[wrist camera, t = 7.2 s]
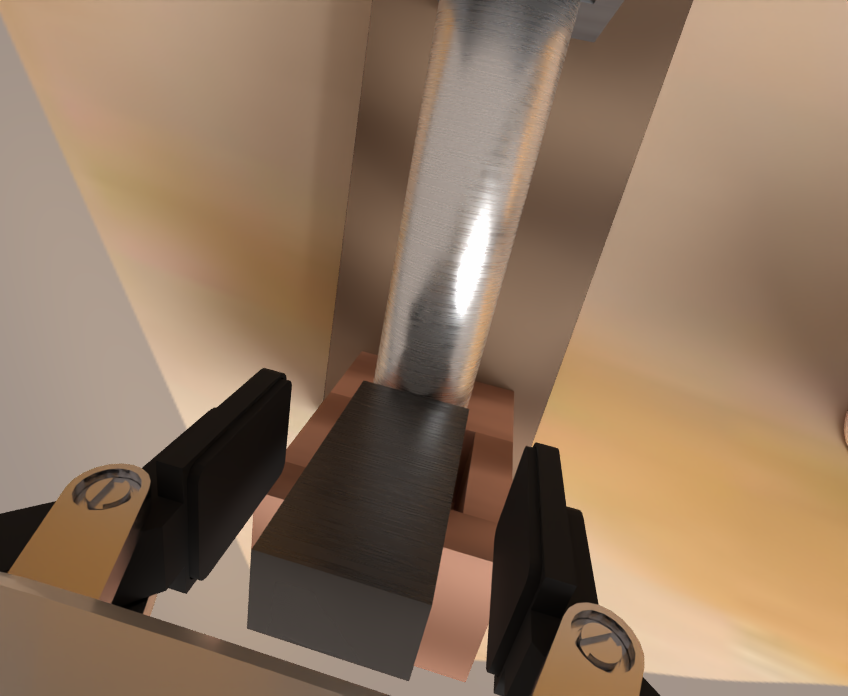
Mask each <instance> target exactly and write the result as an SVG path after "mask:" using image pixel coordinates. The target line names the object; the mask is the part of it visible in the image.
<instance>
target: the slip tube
mask: <svg viewBox="0 0 848 696" xmlns="http://www.w3.org/2000/svg"><path fill="white" fill-rule="evenodd" d="M580 2H581V0H439V5H438V10H437V16H436V22H435V28H434V34H433V39H432V45H431V51H430V57H429V63H428V68H427V74H426V80H425V86H424V92H423V97H422V103H421V109H420V115H419V120H418V126H417V132H416V138H415V144H414V149H413V155H412V161H411V167H410V173H409V178H408V184H407V190H406V196H405V202H404V207H403V213H402V219H401V225H400V230H399V236H398V242H397V248H396V254H395V259H394V265H393V271H392V277H391V283H390V288H389V294H388V300H387V306H386V312H385V317H384V323H383V329H382V335H381V341H380V346H379V352H378V358H377V364H376V369H375V375H374V381H373V383H372V382H368V381H364V380H363V382H362V383H361V385H360V387H359V388H358V390H357V391H356V393H355V394H354V396H353V397H352V399H351V400H350V402H349V403H348V405H347V406H346V408H345V409H344V411H343V412H342V414H341V415H340V417H339V418H338V420H337V421H336V423H335V424H334V426H333V427H332V429H331V430H330V432H329V433H328V435H327V436H326V438H325V439H324V441H323V442H322V444H321V445H320V447H319V448H318V450H317V451H316V453H315V454H314V456H313V457H312V459H311V460H310V462H309V463H308V465H307V466H306V468H305V469H304V471H303V472H302V474H301V475H300V477H299V478H298V480H297V481H296V483H295V484H294V486H293V487H292V489H291V490H290V492H289V493H288V495H287V496H286V498H285V499H284V501H283V502H282V504H281V505H280V507H279V508H278V510H277V511H276V513H275V514H274V516H273V517H272V519H271V520H270V522H269V523H268V525H267V526H266V528H265V529H264V531H263V532H262V534H261V535H260V537H259V539H258V540H257V542H256V543H255V545H254V546H253V548H252V549H251V565H250V584H249V602H248V603H249V604H248V621H247V629H250V630H253V631H256V632H259V633H262V634H266V635H269V636H272V637H275V638H278V639H281V640H284V641H287V642H290V643H293V644H296V645H300V646H302V647H305V648H309V649H311V650H315V651H318V652H321V653H324V654H327V655H330V656H333V657H336V658H339V659H342V660H345V661H348V662H351V663H354V664H357V665H361V666H364V667H367V668H370V669H373V670H376V671H379V672H382V673H385V674H388V675H391V676H394V677H397V678H400V679H403V680H406V681H409V679H410V676H411V673H412V670H413V666H414V663H415V660H416V657H417V653H418V650H419V647H420V644H421V640H422V637H423V634H424V630H425V627H426V624H427V621H428V617H429V614H430V611H431V608H432V604H433V598H434V593H435V588H436V583H437V577H438V572H439V567H440V561H441V556H442V551H443V546H444V540H445V535H446V530H447V524H448V519H449V514H450V509H451V503H452V498H453V493H454V488H455V482H456V477H457V472H458V466H459V461H460V456H461V451H462V445H463V440H464V435H465V430H466V424H467V419H468V414H469V409H468V404H469V400H470V397H471V393H472V390H473V386H474V383H475V379H476V375H477V372H478V368H479V365H480V361H481V357H482V354H483V350H484V347H485V343H486V339H487V336H488V332H489V329H490V325H491V322H492V318H493V314H494V311H495V307H496V304H497V300H498V296H499V293H500V289H501V286H502V282H503V279H504V275H505V271H506V268H507V264H508V261H509V257H510V253H511V250H512V246H513V243H514V239H515V236H516V232H517V228H518V225H519V221H520V218H521V214H522V210H523V207H524V203H525V200H526V196H527V192H528V189H529V185H530V182H531V178H532V175H533V171H534V167H535V164H536V160H537V157H538V153H539V149H540V146H541V142H542V139H543V135H544V132H545V128H546V124H547V121H548V117H549V114H550V110H551V106H552V103H553V99H554V96H555V92H556V89H557V85H558V81H559V78H560V74H561V71H562V67H563V63H564V60H565V56H566V53H567V49H568V46H569V42H570V38H571V35H572V31H573V28H574V24H575V20H576V17H577V13H578V10H579V6H580Z"/></svg>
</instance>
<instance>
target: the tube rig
mask: <svg viewBox="0 0 848 696" xmlns="http://www.w3.org/2000/svg"><path fill="white" fill-rule="evenodd" d="M692 2H693V0H581V2H580V6H579V10H578V13H577V17H576V20H575V24H574V28H573V31H572V35H571V38H570V42H569V46H568V49H567V53H566V56H565V60H564V63H563V67H562V71H561V74H560V78H559V81H558V85H557V89H556V92H555V96H554V99H553V103H552V106H551V110H550V114H549V117H548V121H547V124H546V128H545V132H544V135H543V139H542V142H541V146H540V149H539V153H538V157H537V160H536V164H535V167H534V171H533V175H532V178H531V182H530V185H529V189H528V192H527V196H526V200H525V203H524V207H523V210H522V214H521V218H520V221H519V225H518V228H517V232H516V236H515V239H514V243H513V246H512V250H511V253H510V257H509V261H508V264H507V268H506V271H505V275H504V279H503V282H502V286H501V289H500V293H499V296H498V300H497V304H496V307H495V311H494V314H493V318H492V322H491V325H490V329H489V332H488V336H487V339H486V343H485V347H484V350H483V354H482V357H481V361H480V365H479V368H478V372H477V375H476V379H475V383H474V386H473V390H472V393H471V397H470V400H469V404H468V409H469V414H468V419H467V424H466V430H465V435H464V440H463V445H462V451H461V456H460V461H459V466H458V472H457V477H456V482H455V488H454V493H453V498H452V503H451V509H450V514H449V519H448V524H447V530H446V535H445V540H444V546H443V551H442V556H441V561H440V567H439V572H438V577H437V583H436V588H435V593H434V598H433V604H432V608H431V611H430V614H429V617H428V621H427V624H426V627H425V630H424V634H423V637H422V640H421V644H420V647H419V650H418V653H417V657H416V660H415V663H414V666H416V667H419V668H423V669H426V670H429V671H432V672H435V673H438V674H441V675H444V676H447V677H451V678H453V679H456V680H459V681H463V682H466V679H467V677H468V674H469V672H470V669H471V667H472V664H473V662H474V659H475V657H476V654H477V651H478V649H479V646H480V644H481V641H482V639H483V636H484V634H485V631H486V629H487V626H488V624H489V614H490V598H491V582H492V567H493V551H494V537H495V531H496V527H497V524H498V521H499V518H500V515H501V513H502V510H503V507H504V504H505V501H506V499H507V496H508V493H509V490H510V487H511V484H512V482H513V479H514V476H515V473H516V470H517V468H518V465H519V462H520V459H521V456H522V454H523V451H524V448H525V447H526V446H529V447H531V446H532V443H533V440H534V437H535V435H536V432H537V429H538V426H539V424H540V421H541V418H542V415H543V413H544V410H545V407H546V404H547V402H548V399H549V396H550V393H551V391H552V388H553V385H554V382H555V380H556V377H557V374H558V371H559V369H560V366H561V363H562V360H563V358H564V355H565V352H566V349H567V347H568V344H569V341H570V338H571V335H572V333H573V330H574V327H575V324H576V322H577V319H578V316H579V313H580V311H581V308H582V305H583V302H584V300H585V297H586V294H587V291H588V289H589V286H590V283H591V280H592V278H593V275H594V272H595V269H596V267H597V264H598V261H599V258H600V256H601V253H602V250H603V247H604V245H605V242H606V239H607V236H608V234H609V231H610V228H611V225H612V222H613V220H614V217H615V214H616V211H617V209H618V206H619V203H620V200H621V198H622V195H623V192H624V189H625V187H626V184H627V181H628V178H629V176H630V173H631V170H632V167H633V165H634V162H635V159H636V156H637V154H638V151H639V148H640V145H641V143H642V140H643V137H644V134H645V132H646V129H647V126H648V123H649V121H650V118H651V115H652V112H653V109H654V107H655V104H656V101H657V98H658V96H659V93H660V90H661V87H662V85H663V82H664V79H665V76H666V74H667V71H668V68H669V65H670V63H671V60H672V57H673V54H674V52H675V49H676V46H677V43H678V41H679V38H680V35H681V32H682V30H683V27H684V24H685V21H686V19H687V16H688V13H689V10H690V8H691V5H692ZM438 5H439V0H372V8H371V16H370V24H369V32H368V41H367V49H366V57H365V65H364V73H363V81H362V90H361V98H360V106H359V114H358V122H357V130H356V138H355V147H354V155H353V163H352V171H351V179H350V187H349V196H348V204H347V212H346V220H345V228H344V236H343V244H342V253H341V261H340V269H339V277H338V285H337V293H336V302H335V310H334V318H333V326H332V334H331V342H330V350H329V359H328V367H327V375H326V383H325V391H324V399H323V402H322V404H321V405H320V406H319V408H318V409H317V410H316V412H315V413H314V414H313V415H312V417H311V418H310V419H309V421H308V422H307V423H306V425H305V426H304V427H303V429H302V430H301V431H300V432H299V434H298V435H297V436H296V438H295V439H294V440H293V442H292V443H291V444H290V445H289V447H288V448H287V449H286V458H285V465H284V469H283V471H282V473H281V475H280V477H279V478H278V480H277V481H276V482H275V484H274V485H273V486H272V488H271V489H270V491H269V492H268V493H267V495H266V496H265V498H264V499H263V500H262V502H261V503H260V504H259V506H258V507H257V509H256V510H255V511H254V513H253V529H252V547H251V549H252V548H253V546H254V545H255V543H256V542H257V540H258V539H259V537H260V535H261V534H262V532H263V531H264V529H265V528H266V526H267V525H268V523H269V522H270V520H271V519H272V517H273V516H274V514H275V513H276V511H277V510H278V508H279V507H280V505H281V504H282V502H283V501H284V499H285V498H286V496H287V495H288V493H289V492H290V490H291V489H292V487H293V486H294V484H295V483H296V481H297V480H298V478H299V477H300V475H301V474H302V472H303V471H304V469H305V468H306V466H307V465H308V463H309V462H310V460H311V459H312V457H313V456H314V454H315V453H316V451H317V450H318V448H319V447H320V445H321V444H322V442H323V441H324V439H325V438H326V436H327V435H328V433H329V432H330V430H331V429H332V427H333V426H334V424H335V423H336V421H337V420H338V418H339V417H340V415H341V414H342V412H343V411H344V409H345V408H346V406H347V405H348V403H349V402H350V400H351V399H352V397H353V396H354V394H355V393H356V391H357V390H358V388H359V387H360V385H361V383H362V382H363V380H364V381H368V382H372V383H373V381H374V375H375V369H376V364H377V358H378V352H379V346H380V341H381V335H382V329H383V323H384V317H385V312H386V306H387V300H388V294H389V288H390V283H391V277H392V271H393V265H394V259H395V254H396V248H397V242H398V236H399V230H400V225H401V219H402V213H403V207H404V202H405V196H406V190H407V184H408V178H409V173H410V167H411V161H412V155H413V149H414V144H415V138H416V132H417V126H418V120H419V115H420V109H421V103H422V97H423V92H424V86H425V80H426V74H427V68H428V63H429V57H430V51H431V45H432V39H433V34H434V28H435V22H436V16H437V10H438Z"/></svg>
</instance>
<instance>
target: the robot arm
mask: <svg viewBox="0 0 848 696" xmlns="http://www.w3.org/2000/svg"><path fill="white" fill-rule="evenodd" d="M291 389H292V383H291V381H289V380H286V375H285V374H284V373H281V372H277V371H273V370H270V369H266V368H263V369H261V370H260V371H259V372H257V373H256V374H255V375H254V376H253V377H252V378H250V379H249V380H248V381H247V382H246V383H245V384H244V385H242V386H241V387H240V388H239V389H238V390H237V391H235V392H234V393H233V394H232V395H231V396H230V397H229V398H227V399H226V400H225V401H224V402H223V403H222V404H220V405H219V406H218V407H217V408H213V409H211V410H210V411H208V412H207V413H206V414H205V415H203V416H202V417H201V418H200V419H199V420H198V421H196V422H195V423H194V424H193V425H192V426H191V427H189V428H188V429H187V430H186V431H185V432H184V433H182V434H181V435H180V436H179V437H178V438H177V439H175V440H174V441H173V442H172V443H171V444H170V445H168V446H167V447H166V448H165V449H164V450H163V451H161V452H160V453H159V454H158V455H157V456H155V457H154V458H153V459H152V460H151V461H150V462H148V463H147V464H146V465H145V466H144V467H143V468H140V467H137V466H135V465H130V464H109V465H104V466H100V467H96V468H94V469H91V470H89V471H87V472H84V473H82V474H81V475H79V476H78V477H76V478H74V479H73V480H72V481H71V482H70V483H69V484H68V485H67V486H66V487H65V489H64V490H63V492H62V493H61V495H60V497H59V498H58V499H57V501H55V502H51V503H46V504H41V505H37V506H33V507H28V508H24V509H20V510H15V511H10V512H6V513H2V514H0V696H389V695H387V694H384V693H381V692H378V691H375V690H372V689H368V688H366V687H363V686H360V685H357V684H354V683H350V682H348V681H345V680H342V679H339V678H336V677H333V676H330V675H327V674H324V673H320V672H318V671H315V670H312V669H309V668H306V667H302V666H300V665H296V664H294V663H290V662H288V661H284V660H281V659H278V658H275V657H272V656H269V655H266V654H263V653H260V652H257V651H254V650H251V649H248V648H245V647H242V646H239V645H236V644H233V643H230V642H226V641H224V640H221V639H218V638H215V637H212V636H209V635H206V634H202V633H199V632H196V631H193V630H190V629H187V628H184V627H181V626H177V625H175V624H171V623H168V622H165V621H162V620H159V619H156V618H153V617H150V615H151V612H152V609H153V606H154V603H155V600H156V597H157V594H158V593H160V592H163V591H166V590H167V589H168V588H170V589H173V590H176V591H179V592H182V593H186V594H187V592H188V591H189V590H190V588H191V587H192V585H193V584H194V583H195V582H196V580H197V579H198V580H201V581H202V580H204V579H205V578H206V577H207V576H208V575H209V573H210V572H211V571H212V569H213V568H214V567H215V565H216V564H217V562H218V561H219V559H220V558H221V557H222V555H223V554H224V553H225V551H226V550H227V549H228V547H229V546H230V544H231V543H232V541H233V540H234V539H235V538H236V536H237V535H238V533H239V532H240V531H241V529H242V528H243V527H244V525H245V524H246V522H247V521H248V520H249V518H250V517H251V515H252V514H253V513H254V511H255V510H256V509H257V507H258V506H259V504H260V503H261V502H262V500H263V499H264V498H265V496H266V495H267V493H268V492H269V491H270V489H271V488H272V486H273V485H274V484H275V482H276V481H277V480H278V478H279V477H280V475H281V473H282V471H283V469H284V465H285V458H286V446H287V435H288V423H289V412H290V401H291ZM486 670H487V672H488V673H491V674H495V676H494V693H495V694H498V695H501V696H660V695H659V694H658V693H657V692H656V690H655V689H654V688H653V687H652V686H651V685H650V684H649V683H648V682H647V681H646V680H645V679H644V678H643V672H644V653H643V650H642V647H641V644H640V642H639V640H638V639H637V637H636V635H635V634H634V632H633V630H632V629H631V628H630V627H629V626H628V625H627V624H626V623H625V622H624V621H623V619H621V618H620V617H619V616H617V615H616V614H615V613H613V612H612V611H610V610H608V609H606V608H604V607H602V606H600V605H598V599H597V593H596V588H595V582H594V576H593V570H592V564H591V559H590V553H589V547H588V541H587V536H586V530H585V524H584V518H583V515H582V512H581V511H580V510H577V509H574V508H570V507H567V506H566V500H565V492H564V485H563V477H562V469H561V462H560V454H559V449H558V448H555V447H551V446H547V445H544V444H540V443H537V442H536V443H535V444H534V446H533V447H529V446H526V447H525V448H524V451H523V454H522V456H521V459H520V462H519V465H518V468H517V470H516V473H515V476H514V479H513V482H512V484H511V487H510V490H509V493H508V496H507V499H506V501H505V504H504V507H503V510H502V513H501V515H500V518H499V521H498V524H497V527H496V531H495V537H494V551H493V567H492V582H491V598H490V614H489V630H488V645H487V661H486Z"/></svg>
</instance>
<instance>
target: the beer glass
mask: <svg viewBox="0 0 848 696" xmlns="http://www.w3.org/2000/svg"><path fill="white" fill-rule="evenodd" d="M844 437H845V441H846V444H847V446H848V411H847V414H846V417H845V421H844Z"/></svg>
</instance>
